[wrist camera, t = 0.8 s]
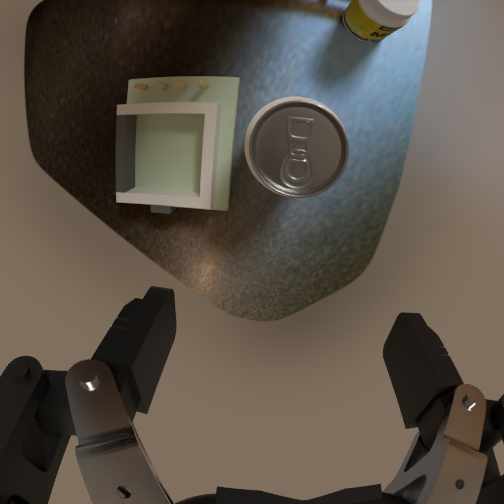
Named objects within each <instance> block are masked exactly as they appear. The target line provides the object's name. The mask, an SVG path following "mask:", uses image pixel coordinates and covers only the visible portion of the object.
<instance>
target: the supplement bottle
mask: <svg viewBox="0 0 504 504" xmlns="http://www.w3.org/2000/svg"><path fill="white" fill-rule="evenodd" d="M417 10H418V0H353V1H352V2H351V3H350V4H349V6H348V7H347V8H346V10H345V11H344V14H343V23H344V25H345V27H346V29H347V30H348V32H349V33H350V34H351V35H352V36H354V37H355V38H357V39H358V40H361V41H363V42H368V43H374V42H378V41H380V40H382V39H384V38H385V37H387V36H388V35H390V34H391V33H393V32H394V31H396V30H398V29H399V28H401V27H403V26H404V25H405V24H406V23H407V22H408V21H409V19H410V17H411V16H412V15H413V14H414V13H416V11H417Z"/></svg>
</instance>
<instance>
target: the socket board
mask: <svg viewBox="0 0 504 504" xmlns="http://www.w3.org/2000/svg"><path fill="white" fill-rule="evenodd" d="M239 87H240V78H239V77H217V76H180V77H157V78H143V79H132V80H129V83H128V95H127V104H122V105H117V120H116V200H117V202H121V203H136V204H150V205H151V212H155V213H167V214H171V213H172V212H173V211H174V210H175V209H176V208H177V207H187V208H198V209H209V210H210V209H211V210H221V211H227V210H228V208H229V199H230V186H231V173H232V161H233V150H234V139H235V128H236V117H237V107H238V97H239Z"/></svg>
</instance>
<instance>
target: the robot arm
mask: <svg viewBox="0 0 504 504" xmlns="http://www.w3.org/2000/svg"><path fill="white" fill-rule="evenodd" d="M175 334H176V312H175V298H174V291H173V289H168V288H161V287H155V286H151V287H150V288H149V290H148V291H147V293H146V295H145V296H144V298H143V299H138V298H135V299H134V300H132V301H131V302H129V303H128V304H126V305H125V306H124V307H123V309H122V310H121V312H120V313H119V315H118V318H116V320H115V321H114V323H113V324H112V327H110V329H109V331H108V332H107V334H106V336H105V337H104V339H103V340H102V342H101V343H100V345H99V346H98V348H97V350H96V352H95V353H94V355H93V356H92V358H91V359H87V360H82V361H80V362H77V363H76V364H74V365H73V366H72V367H71V368H70V369H69V371H54V370H43V368H42V366H41V364H40V363H39V361H38V360H37V359H35V358H34V357H30V356H21V357H18V358H16V359H14V360H13V361H11V363H9V364H8V366H7V367H6V369H5V370H4V372H3V373H2V375H1V376H0V504H48V501H49V498H50V495H51V491H52V488H53V485H54V482H55V479H56V475H57V473H58V469H59V466H60V464H61V461H62V458H63V455H64V453H65V450H66V447H67V444H68V442H69V439H70V437H71V435H76V436H77V438H78V442H79V445H78V446H76V448H75V451H76V457H77V461H78V464H79V467H80V470H81V473H82V476H83V479H84V482H85V485H86V487H87V490H88V493H89V495H90V498H91V500H92V503H93V504H174V502H173V500H172V499H171V497H170V495H169V494H168V492H167V490H166V488H165V487H164V485H163V483H162V481H161V480H160V478H159V476H158V474H157V472H156V471H155V469H154V467H153V465H152V463H151V461H150V459H149V457H148V455H147V453H146V451H145V449H144V447H143V444H142V442H141V440H140V438H139V436H138V433H137V431H136V429H135V426H134V424H133V419H134V416H135V413H136V411H137V412H141V413H145V414H147V413H148V410H149V407H150V404H151V401H152V398H153V396H154V393H155V390H156V387H157V384H158V382H159V379H160V376H161V374H162V371H163V368H164V365H165V363H166V360H167V358H168V355H169V352H170V350H171V347H172V344H173V342H174V339H175ZM383 358H384V361H385V364H386V367H387V370H388V373H389V376H390V379H391V382H392V385H393V388H394V391H395V394H396V397H397V401H398V404H399V407H400V410H401V414H402V417H403V421H404V424H405V428H406V429H409V428H415V427H418V429H419V432H418V433H417V434H416V435H415V437H414V439H413V442H412V444H411V446H410V449H409V451H408V453H407V455H406V457H405V459H404V461H403V463H402V465H401V467H400V469H399V471H398V473H397V475H396V476H395V478H394V479H393V480H392V482H391V483H390V484H389V485H388V486H387V487H386V488H385V490H384V491H383V492H382V490H381V484H377V485H371V486H363V487H356V488H347V489H343V490H340V491H337V492H334V493H330V494H327V495H324V496H321V497H317V498H313V499H310V500H297V499H292V498H288V497H283V496H279V495H275V494H271V493H267V492H263V491H257V490H244V489H234V488H224V487H217V491H216V494H205V495H199V496H195V497H191V498H187V499H185V500H182V501H179V502H177V503H175V504H504V474H503V475H502V476H500V472H499V469H498V465H497V461H496V458H495V454H494V451H493V447H494V446H495V445H496V444H497V443H498V442H500V441H501V440H502V439H503V442H504V394H503V396H502V397H501V398H500V399H499V400H498V401H493V400H487V399H485V397H484V395H483V393H482V392H481V391H480V390H479V389H478V388H477V387H475V386H473V385H470V384H464V383H463V381H462V379H461V377H460V375H459V373H458V371H457V369H456V367H455V366H454V363H453V362H452V360H451V358H450V356H448V352H447V350H446V349H445V348H444V345H443V343H442V342H441V340H440V338H439V337H438V335H437V334H436V333H435V332H434V331H433V330H432V329H431V328H430V327H428V326H427V324H426V322H425V321H424V319H423V317H422V316H421V315H420V314H419V313H403V312H402V313H400V314H399V315H398V316H397V318H396V321H395V323H394V325H393V327H392V329H391V332H390V334H389V336H388V338H387V340H386V342H385V344H384V348H383Z"/></svg>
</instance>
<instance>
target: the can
mask: <svg viewBox="0 0 504 504" xmlns="http://www.w3.org/2000/svg"><path fill="white" fill-rule="evenodd" d="M244 150H245V156H246V160H247V163H248V166H249V168H250V170H251V172H252V173H253V175H254V176H255V177H256V179H257V180H258V181H259V182H260V183H261V184H262V185H263V186H265V187H266V188H267V189H269V190H271V191H272V192H274V193H277V194H279V195H282V196H286V197H293V198H305V197H311V196H315V195H318V194H320V193H322V192H324V191H326V190H327V189H329V188H330V187H331V186H333V185H334V184H335V183H336V182H337V181H338V179H339V178H340V177H341V175H342V173H343V172H344V169H345V167H346V164H347V160H348V154H349V147H348V139H347V135H346V132H345V129H344V127H343V125H342V123H341V121H340V120H339V118H338V117H337V116H336V115H335V114H334V113H333V112H332V111H331V110H330V109H329V108H328V107H326V106H325V105H323V104H322V103H320V102H318V101H316V100H313V99H310V98H305V97H296V96H294V97H285V98H280V99H277V100H275V101H273V102H271V103H269V104H267V105H266V106H264V107H263V108H262V109H261V110H259V111H258V112H257V114H256V115H255V116H254V117H253V119H252V120H251V122H250V124H249V126H248V128H247V131H246V135H245V142H244Z"/></svg>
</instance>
